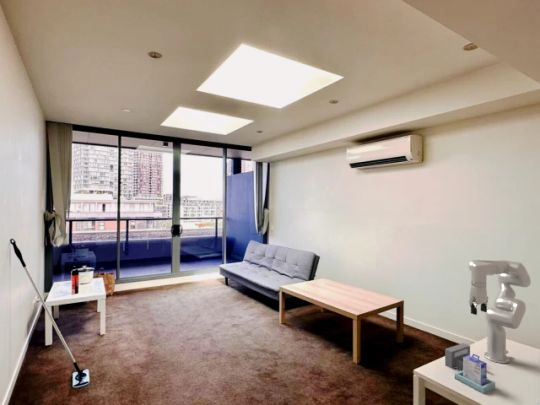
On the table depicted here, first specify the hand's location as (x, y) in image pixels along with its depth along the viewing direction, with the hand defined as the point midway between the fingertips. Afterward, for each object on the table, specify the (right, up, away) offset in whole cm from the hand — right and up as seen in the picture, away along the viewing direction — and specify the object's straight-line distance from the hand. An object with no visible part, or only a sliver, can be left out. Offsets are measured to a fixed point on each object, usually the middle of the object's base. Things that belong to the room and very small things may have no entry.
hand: (478, 312), depth 182 cm
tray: (-13, -33, -15) cm, 39 cm away
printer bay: (-7, -33, +1) cm, 34 cm away
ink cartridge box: (-12, -33, -15) cm, 38 cm away
